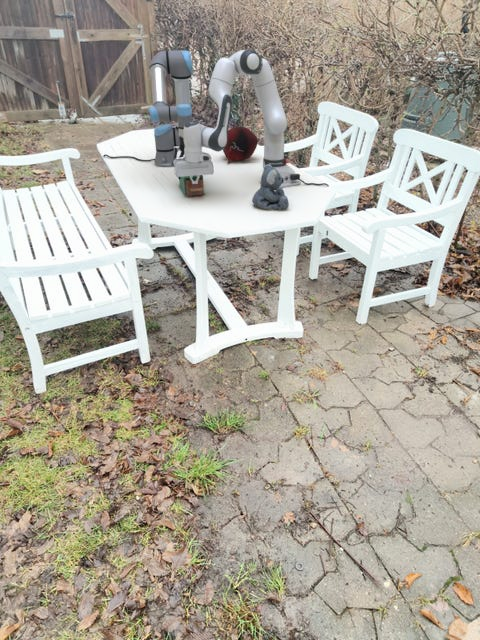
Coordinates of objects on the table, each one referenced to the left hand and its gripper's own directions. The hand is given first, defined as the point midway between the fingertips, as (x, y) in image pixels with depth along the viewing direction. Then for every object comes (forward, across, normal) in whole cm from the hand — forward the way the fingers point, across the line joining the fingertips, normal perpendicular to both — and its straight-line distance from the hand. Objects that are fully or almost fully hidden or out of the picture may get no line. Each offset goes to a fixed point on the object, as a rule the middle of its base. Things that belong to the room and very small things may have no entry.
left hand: (189, 177), depth 253 cm
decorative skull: (+5, +42, +47) cm, 64 cm away
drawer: (+4, 0, -12) cm, 12 cm away
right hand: (-3, 0, -21) cm, 21 cm away
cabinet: (+5, 0, -6) cm, 8 cm away
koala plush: (+5, +34, -42) cm, 54 cm away
